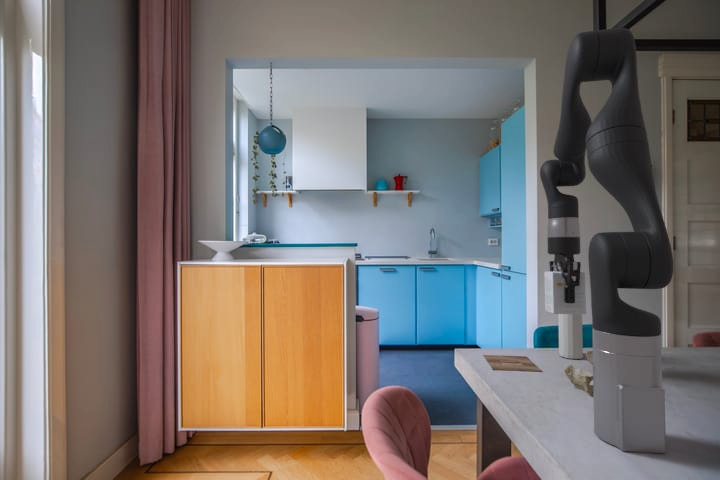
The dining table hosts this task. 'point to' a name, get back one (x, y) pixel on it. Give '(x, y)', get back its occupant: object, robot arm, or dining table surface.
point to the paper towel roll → (570, 336)
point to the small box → (557, 297)
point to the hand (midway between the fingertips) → (564, 301)
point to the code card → (511, 363)
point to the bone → (581, 375)
